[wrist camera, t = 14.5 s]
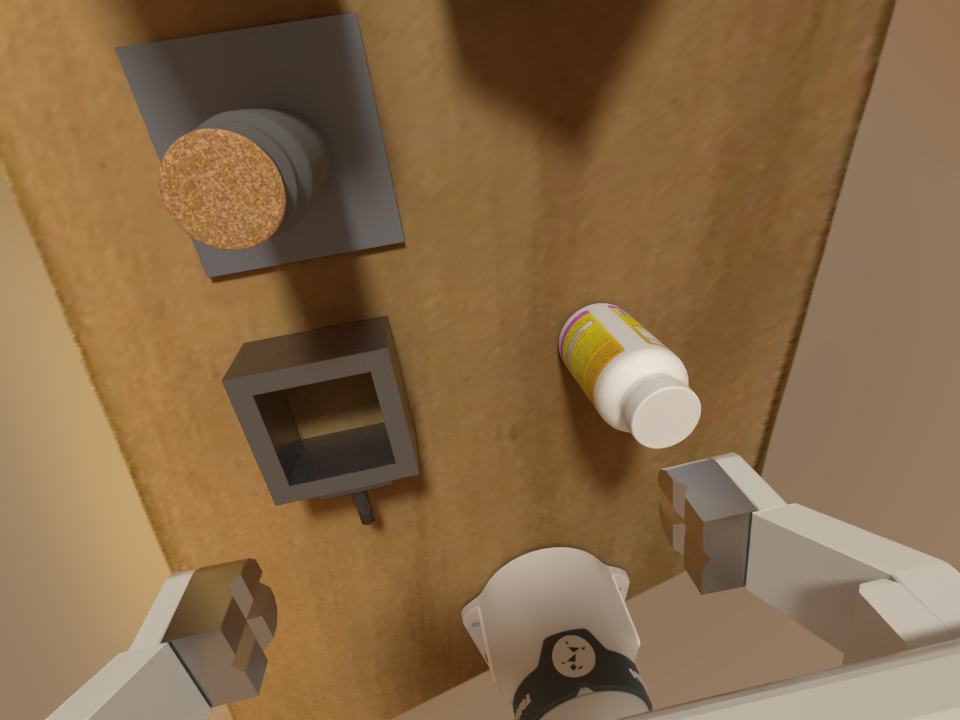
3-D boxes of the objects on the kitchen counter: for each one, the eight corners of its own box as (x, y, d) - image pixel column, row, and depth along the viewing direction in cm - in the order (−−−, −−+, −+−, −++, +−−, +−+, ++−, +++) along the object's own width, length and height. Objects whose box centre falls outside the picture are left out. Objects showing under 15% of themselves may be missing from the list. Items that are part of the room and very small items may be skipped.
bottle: (266, 215, 35) (194, 283, 22) (221, 124, 33) (108, 141, 19) (347, 186, 35) (324, 238, 22) (309, 94, 33) (257, 89, 19)
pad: (404, 240, 38) (404, 241, 38) (209, 275, 37) (207, 277, 37) (356, 13, 32) (356, 12, 31) (118, 48, 31) (114, 47, 30)
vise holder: (428, 483, 48) (433, 530, 43) (309, 509, 47) (299, 561, 42) (387, 315, 40) (387, 347, 35) (243, 343, 40) (221, 380, 34)
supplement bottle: (557, 377, 45) (613, 469, 34) (555, 306, 42) (616, 382, 31) (630, 365, 46) (710, 452, 35) (633, 295, 43) (722, 364, 32)
